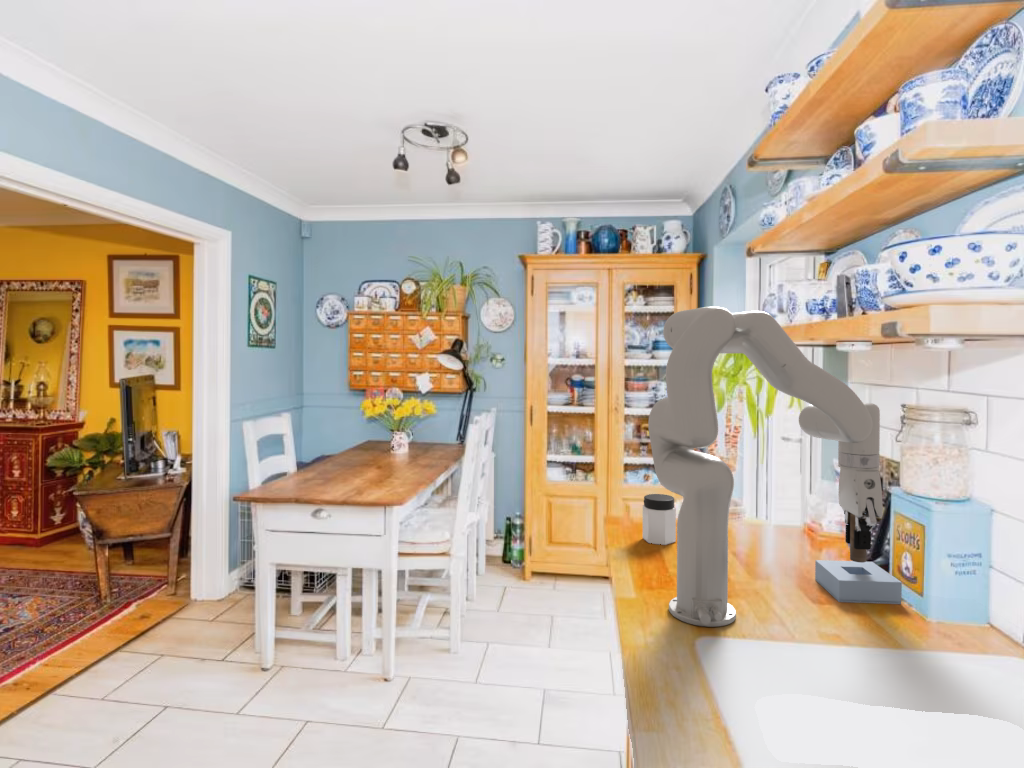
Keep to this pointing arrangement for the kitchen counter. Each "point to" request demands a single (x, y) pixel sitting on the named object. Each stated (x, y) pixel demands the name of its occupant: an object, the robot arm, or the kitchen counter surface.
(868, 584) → the hole block
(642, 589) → the kitchen counter surface
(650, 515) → the jar
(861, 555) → the peg
